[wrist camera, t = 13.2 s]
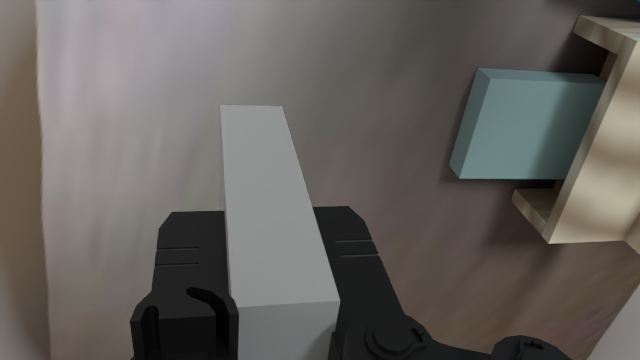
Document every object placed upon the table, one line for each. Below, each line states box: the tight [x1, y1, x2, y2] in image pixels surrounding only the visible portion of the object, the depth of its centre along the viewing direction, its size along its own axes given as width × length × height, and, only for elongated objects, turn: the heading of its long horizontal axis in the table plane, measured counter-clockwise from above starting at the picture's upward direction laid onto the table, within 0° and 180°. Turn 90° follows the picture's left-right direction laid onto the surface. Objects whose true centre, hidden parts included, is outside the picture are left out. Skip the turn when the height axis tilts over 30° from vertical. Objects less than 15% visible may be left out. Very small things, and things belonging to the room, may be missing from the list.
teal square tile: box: [449, 68, 607, 179], centre depth 48 cm, size 10×12×3 cm
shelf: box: [511, 15, 640, 255], centre depth 45 cm, size 20×10×12 cm, turn 174°
